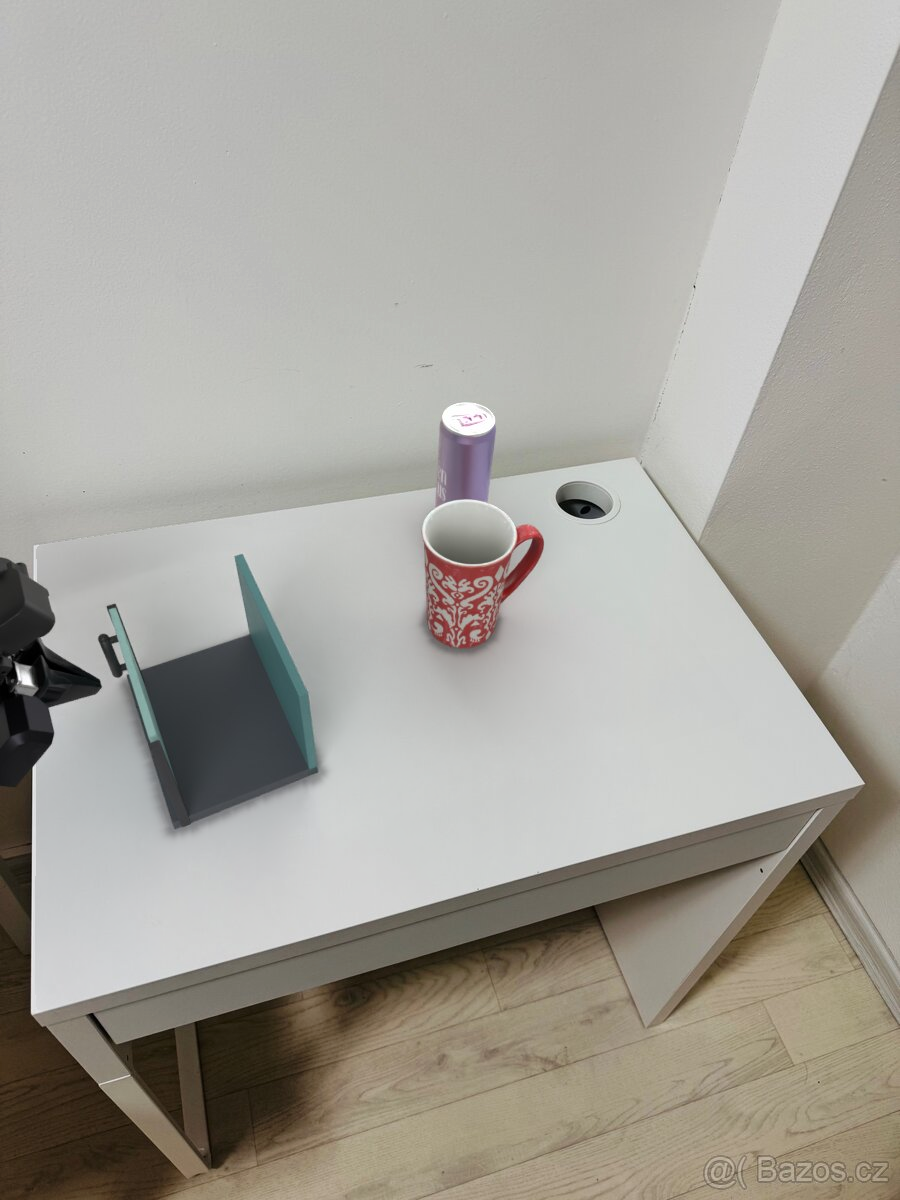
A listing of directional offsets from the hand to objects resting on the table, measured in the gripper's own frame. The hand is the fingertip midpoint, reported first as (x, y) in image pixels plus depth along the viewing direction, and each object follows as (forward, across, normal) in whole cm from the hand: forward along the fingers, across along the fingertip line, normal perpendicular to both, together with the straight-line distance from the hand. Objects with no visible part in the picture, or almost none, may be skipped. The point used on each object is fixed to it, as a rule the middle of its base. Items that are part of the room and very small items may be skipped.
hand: (98, 687), depth 72 cm
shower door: (+6, -3, +3) cm, 7 cm away
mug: (+31, -2, -20) cm, 38 cm away
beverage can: (+35, +12, -24) cm, 45 cm away
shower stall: (+11, -3, -1) cm, 12 cm away
